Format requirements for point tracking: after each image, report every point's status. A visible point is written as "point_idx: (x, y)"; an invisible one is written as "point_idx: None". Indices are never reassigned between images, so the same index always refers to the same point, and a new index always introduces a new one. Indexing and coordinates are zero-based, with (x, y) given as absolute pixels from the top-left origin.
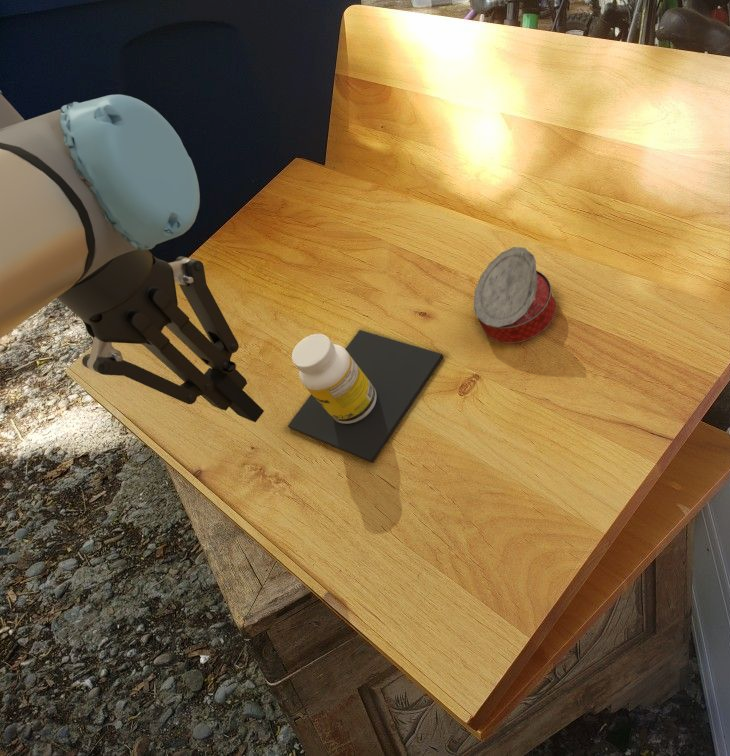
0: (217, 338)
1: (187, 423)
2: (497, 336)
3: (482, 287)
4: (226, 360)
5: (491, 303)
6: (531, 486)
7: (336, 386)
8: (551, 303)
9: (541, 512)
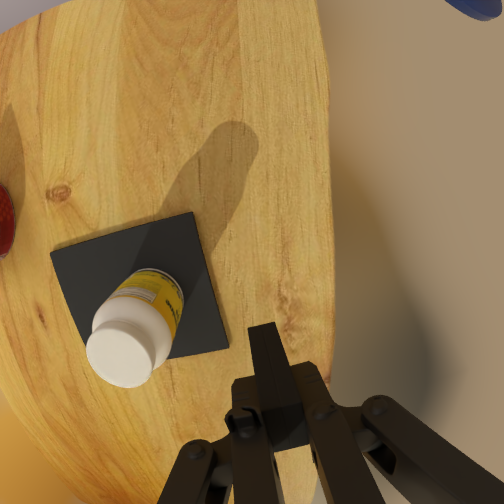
0: (212, 490)
1: None
2: (7, 209)
3: None
4: (236, 438)
5: None
6: (116, 43)
7: (138, 296)
8: None
9: (135, 20)
